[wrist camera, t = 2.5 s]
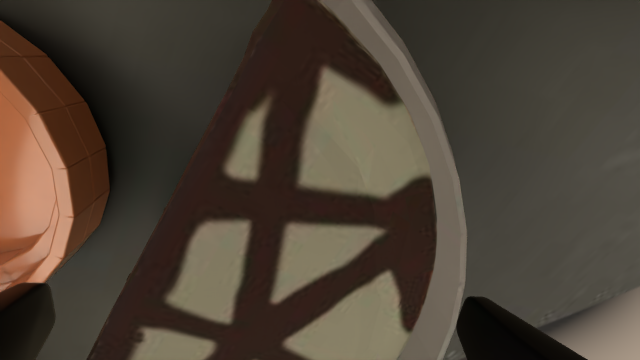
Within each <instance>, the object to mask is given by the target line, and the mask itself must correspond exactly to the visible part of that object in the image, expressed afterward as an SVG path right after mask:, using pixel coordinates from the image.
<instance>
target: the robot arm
mask: <svg viewBox="0 0 640 360" xmlns="http://www.w3.org/2000/svg"><path fill="white" fill-rule="evenodd" d="M54 323H55V310H54V304H53V299H52V294H51V289H50V287H49V285H48V284H46V283H35V282H24V283H19V284H17V285H15V286H13V287H10V288H8V289H6V290H4V291H1V292H0V360H35V359H36V357H37V355H38V354H39V352H40V350H41V348H42V346H43V345H44V343H45V341H46V339H47V337H48V336H49V334H50V332H51V330H52V328H53V326H54ZM456 329H457V333H458V336H459V339H460V342H461V344H462V347H463V350H464V352H465V355H466V357H467V360H587V359H586V358H584V357H582V356H581V355H579V354H577V353H576V352H574V351H573V350H571V349H569V348H568V347H566V346H564V345H562V344H561V343H559V342H558V341H556V340H554V339H553V338H551V337H549V336H548V335H546V334H544V333H543V332H541V331H540V330H538V329H537V328H535V327H533V326H532V325H530V324H528V323H527V322H525V321H523V320H522V319H520V318H519V317H517V316H515V315H514V314H512V313H510V312H509V311H507V310H505V309H504V308H502V307H501V306H499V305H497V304H496V303H494V302H492V301H491V300H489V299H487V298H485V297H475V296H470V297H467V298H466V299H465V301H464V304H463V306H462V309H461V312H460V314H459V317H458V320H457V324H456Z"/></svg>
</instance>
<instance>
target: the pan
mask: <svg viewBox="0 0 640 360" xmlns="http://www.w3.org/2000/svg"><path fill="white" fill-rule="evenodd" d="M105 147H106V145H105V143H104V141H103V138H102V136H101V134H100V132H99V129H98V127H97V125H96V123H95V120H94V118H93V116H92V114H91V111H90V109H89V107H88V105H87V103H86V102H84V99H83V98H82V97H81V95H80V94H79V93H78V92H77V91H76V89H75V88H74V87H73V86H72V84H71V83H70V82H69V81H68V80H67V78H66V77H65V76H64V75H63V74H62V72H61V71H60V70H59V69H58V68H57V66H56V65H55V64H54V63H53V62H52V60H51V59H50V58H49V57H47V55H46V54H45V53H44V52H42V51H41V50H40V49H38V48H37V47H36V46H34V45H33V44H32V43H30V42H29V41H27V40H26V39H25V38H23V37H22V36H21V35H19V34H18V33H17V32H15V31H14V30H13V29H11V28H10V27H9V26H7V25H6V24H5V23H3V22H2V21H1V20H0V292H1V291H4V290H6V289H8V288H10V287H13V286H15V285H17V284H19V283H24V282H35V283H46V282H47V281H48V280H49V279H50V278H51V277H52V276H53V275H54V274H55V273H56V272H57V271H58V270H59V269H60V268H61V267H62V266H63V265H64V264H65V263H66V262H67V261H68V260H69V259H70V258H71V257H72V256H73V255H74V254H75V253H76V252H77V251H78V250H79V249H80V248H81V246H82V245H83V244H84V243H85V242H86V240H87V239H88V238H89V237H90V236H91V234H92V233H93V232H94V231H95V230H96V228H97V227H98V226H99V224H100V222H101V219H102V215H103V212H104V209H105V205H106V202H107V199H108V195H109V192H110V189H109V188H110V185H109V174H108V164H107V153H106V148H105Z"/></svg>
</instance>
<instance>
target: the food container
mask: <svg viewBox="0 0 640 360" xmlns="http://www.w3.org/2000/svg"><path fill="white" fill-rule="evenodd" d="M466 250H467V228H466V222H465V215H464V208H463V201H462V194H461V188H460V181H459V176H458V173H457V170H456V167H455V160H454V156H453V153H452V150H451V146H450V143H449V140H448V137H447V134H446V131H445V128H444V125H443V122H442V119H441V116H440V113H439V110H438V107H437V104H436V101H435V99H434V98H433V96H432V94H431V92H430V90H429V88H428V86H427V85H426V83H425V81H424V79H423V77H422V75H421V73H420V71H419V70H418V68H417V66H416V64H415V62H414V60H413V58H412V56H411V55H410V53H409V51H408V49H407V47H406V45H405V43H404V42H403V40H402V39H401V38H400V37H399V35H398V34H397V33H396V31H395V30H394V29H393V27H392V26H391V25H390V23H389V22H388V21H387V20H386V18H385V17H384V16H383V14H382V13H381V12H380V10H379V9H378V8H377V7H376V5H375V4H374V3H373V1H372V0H272V1H271V3H270V5H269V8H268V10H267V12H266V13H265V14H264V16H263V17H262V19H261V20H260V22H259V23H258V25H257V26H256V28H255V29H254V31H253V32H252V35H251V38H250V41H249V44H248V46H247V49H246V52H245V55H244V58H243V60H242V62H241V64H240V66H239V68H238V70H237V72H236V74H235V76H234V78H233V80H232V82H231V84H230V86H229V88H228V90H227V92H226V94H225V95H224V97H223V99H222V101H221V103H220V104H219V106H218V109H217V110H216V112H215V114H214V116H213V118H212V120H211V122H210V124H209V125H208V127H207V129H206V131H205V133H204V135H203V137H202V139H201V141H200V142H199V144H198V146H197V148H196V150H195V152H194V154H193V156H192V157H191V159H190V161H189V163H188V165H187V167H186V169H185V171H184V173H183V175H182V177H181V179H180V181H179V183H178V185H177V187H176V189H175V191H174V193H173V195H172V197H171V199H170V200H169V202H168V204H167V206H166V207H165V208H164V211H163V214H162V216H161V218H160V220H159V222H158V224H157V226H156V228H155V229H154V231H153V233H152V235H151V237H150V239H149V241H148V243H147V244H146V246H145V248H144V250H143V252H142V254H141V256H140V258H139V259H138V261H137V263H136V265H135V267H134V269H133V271H132V273H130V274H129V276H128V278H127V282H126V284H125V286H124V288H123V290H122V291H121V293H120V295H119V297H118V299H117V301H116V303H115V305H114V306H113V308H112V310H111V312H110V314H109V316H108V318H107V320H106V322H105V324H104V326H103V328H102V330H101V332H100V334H99V336H98V338H97V340H96V342H95V344H94V346H93V348H92V350H91V352H90V354H89V356H88V358H87V360H442V359H443V357H444V354H445V352H446V349H447V347H448V344H449V342H450V339H451V337H452V334H453V332H454V330H455V327H456V323H457V318H458V314H459V309H460V305H461V300H462V295H463V291H464V286H465V279H466Z"/></svg>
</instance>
